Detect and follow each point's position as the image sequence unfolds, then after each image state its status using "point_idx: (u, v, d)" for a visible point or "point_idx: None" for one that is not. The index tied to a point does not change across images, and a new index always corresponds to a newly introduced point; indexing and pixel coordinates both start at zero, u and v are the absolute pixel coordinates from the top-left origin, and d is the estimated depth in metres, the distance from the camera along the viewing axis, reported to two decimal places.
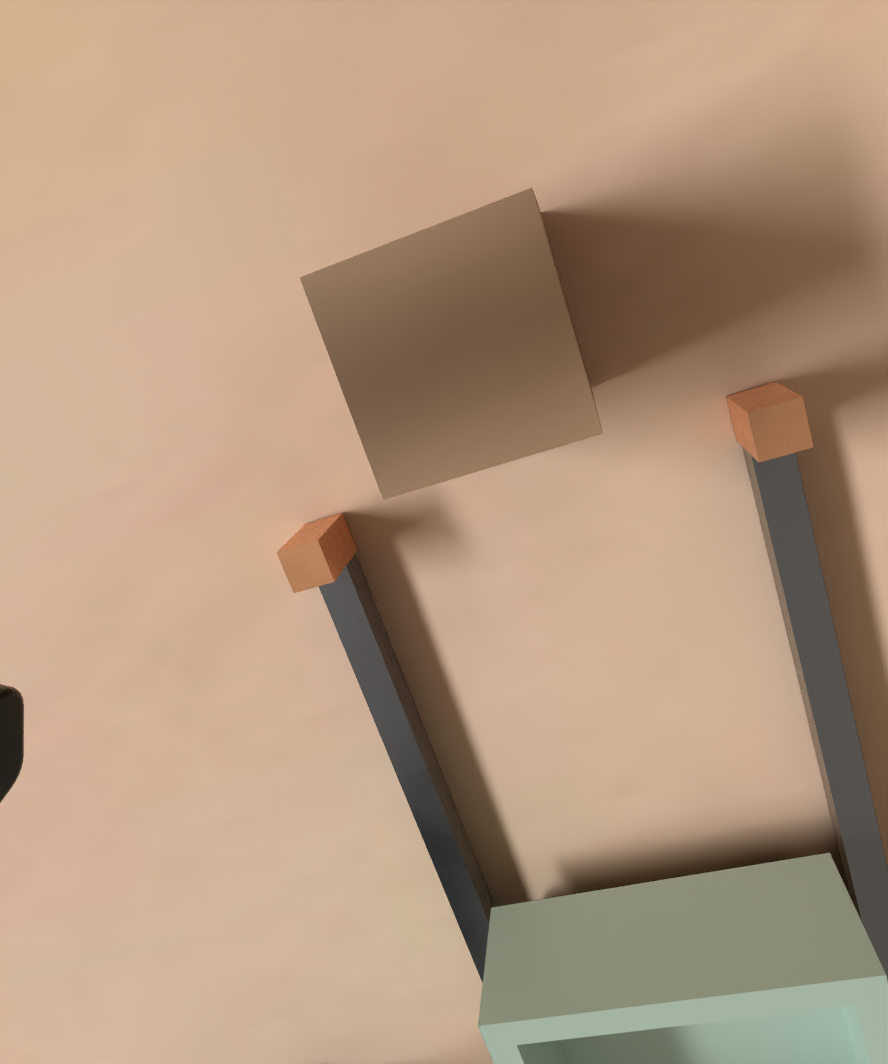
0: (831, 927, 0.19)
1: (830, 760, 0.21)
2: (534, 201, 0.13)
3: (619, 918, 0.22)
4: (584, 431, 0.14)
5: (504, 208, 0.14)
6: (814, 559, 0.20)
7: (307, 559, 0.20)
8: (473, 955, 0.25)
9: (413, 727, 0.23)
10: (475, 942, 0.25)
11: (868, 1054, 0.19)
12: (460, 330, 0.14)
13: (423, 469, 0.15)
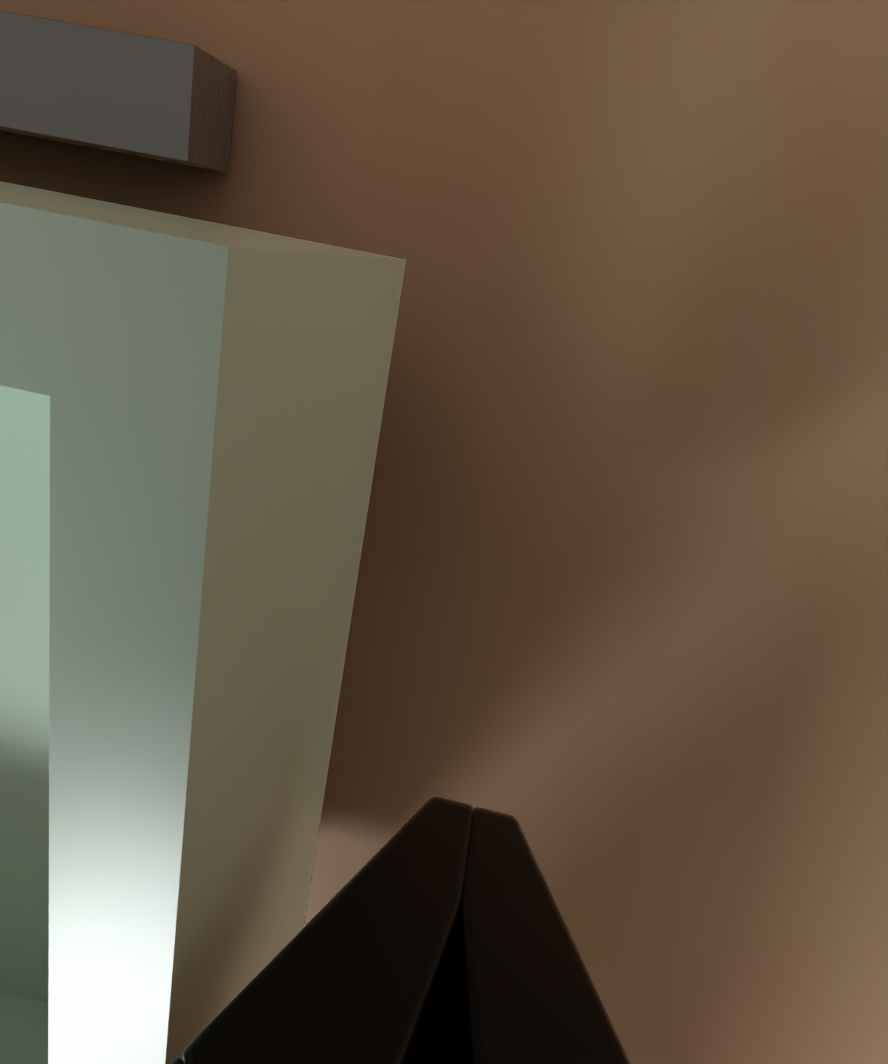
0: None
1: None
2: None
3: None
4: None
5: None
6: None
7: None
8: None
9: None
10: None
11: None
12: None
13: None
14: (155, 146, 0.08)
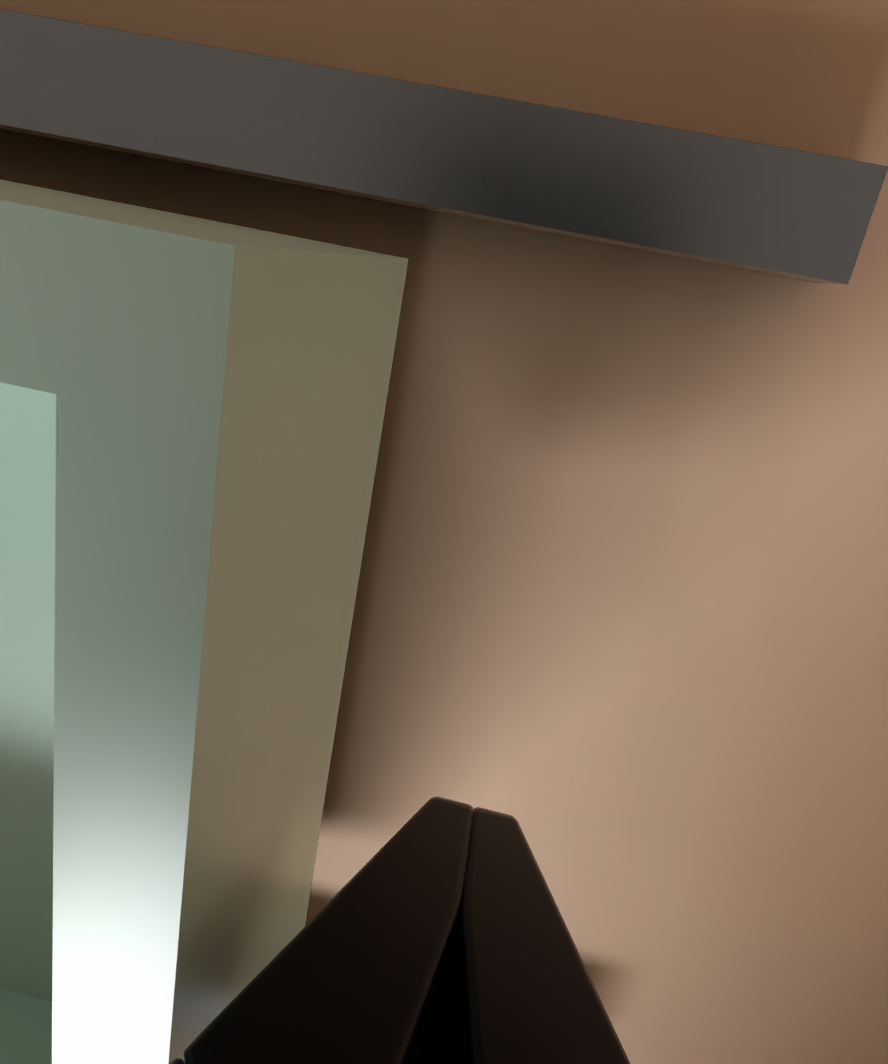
0: None
1: None
2: None
3: None
4: None
5: None
6: None
7: None
8: None
9: None
10: None
11: None
12: None
13: None
14: (811, 268, 0.07)
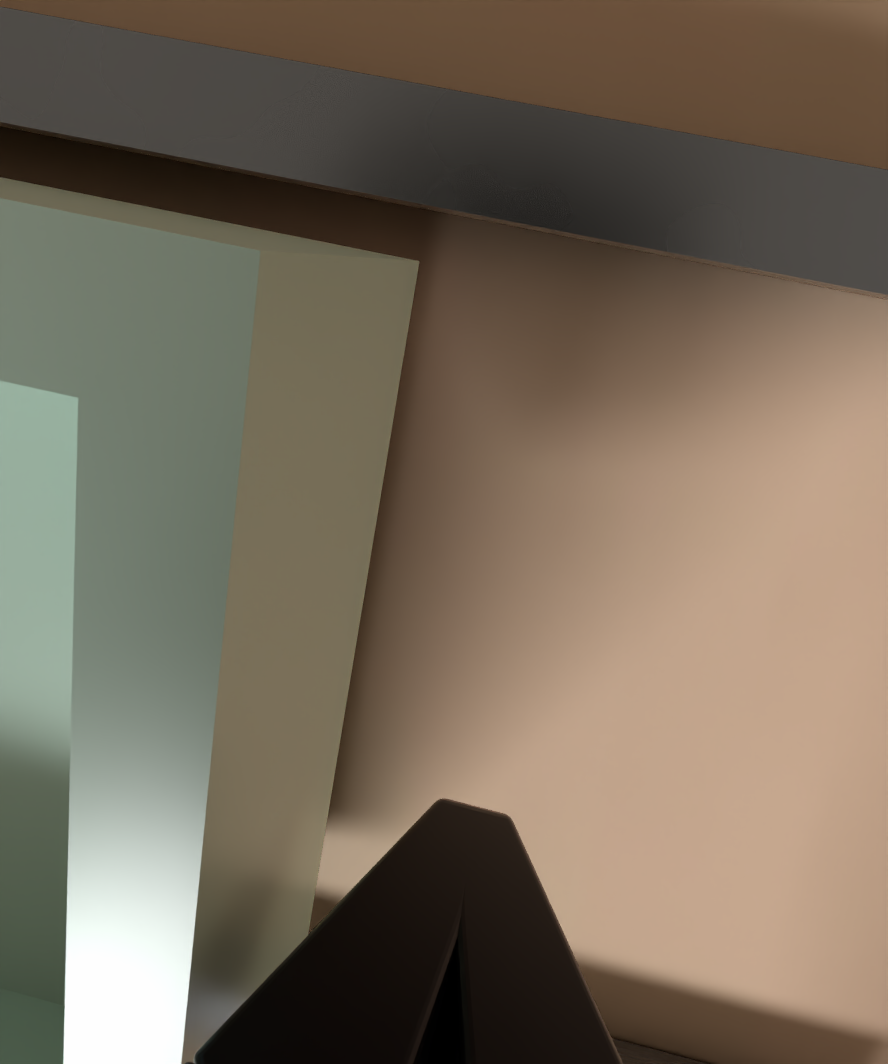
0: None
1: (295, 159, 0.07)
2: None
3: None
4: None
5: None
6: None
7: None
8: None
9: None
10: None
11: None
12: None
13: None
14: None
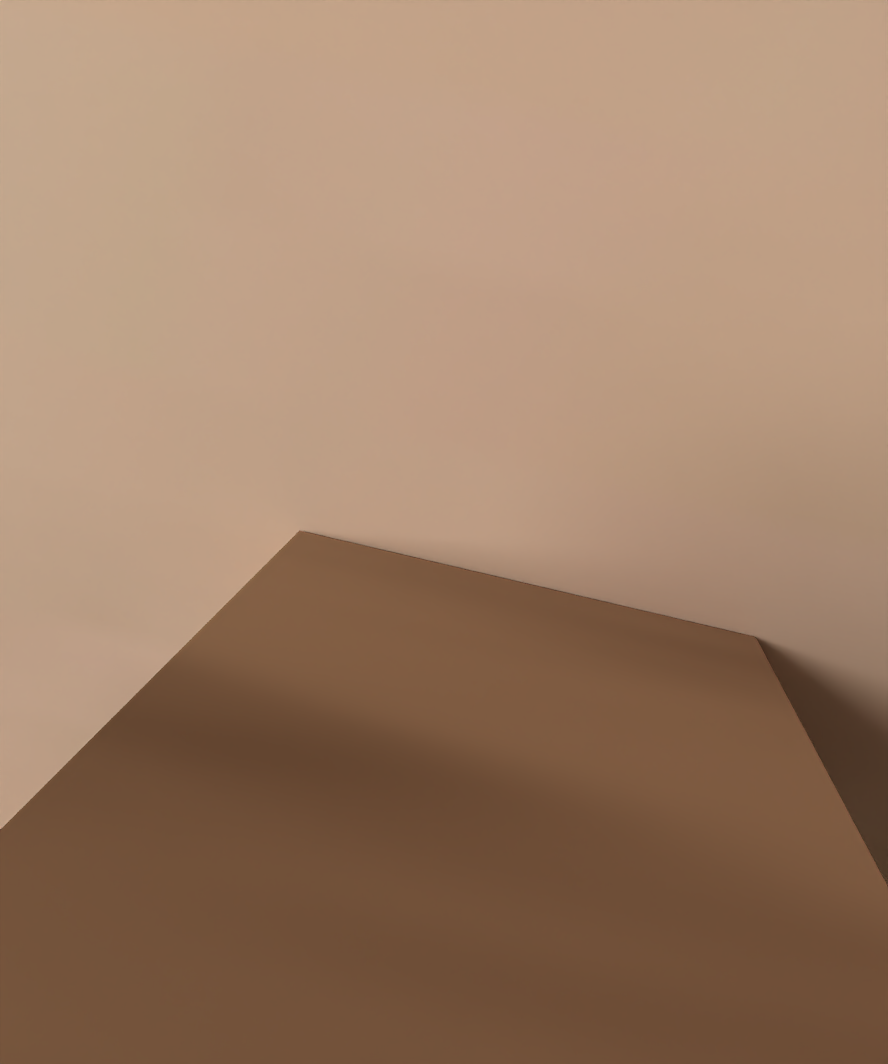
0: None
1: None
2: None
3: None
4: None
5: None
6: None
7: None
8: None
9: None
10: None
11: None
12: None
13: None
14: None
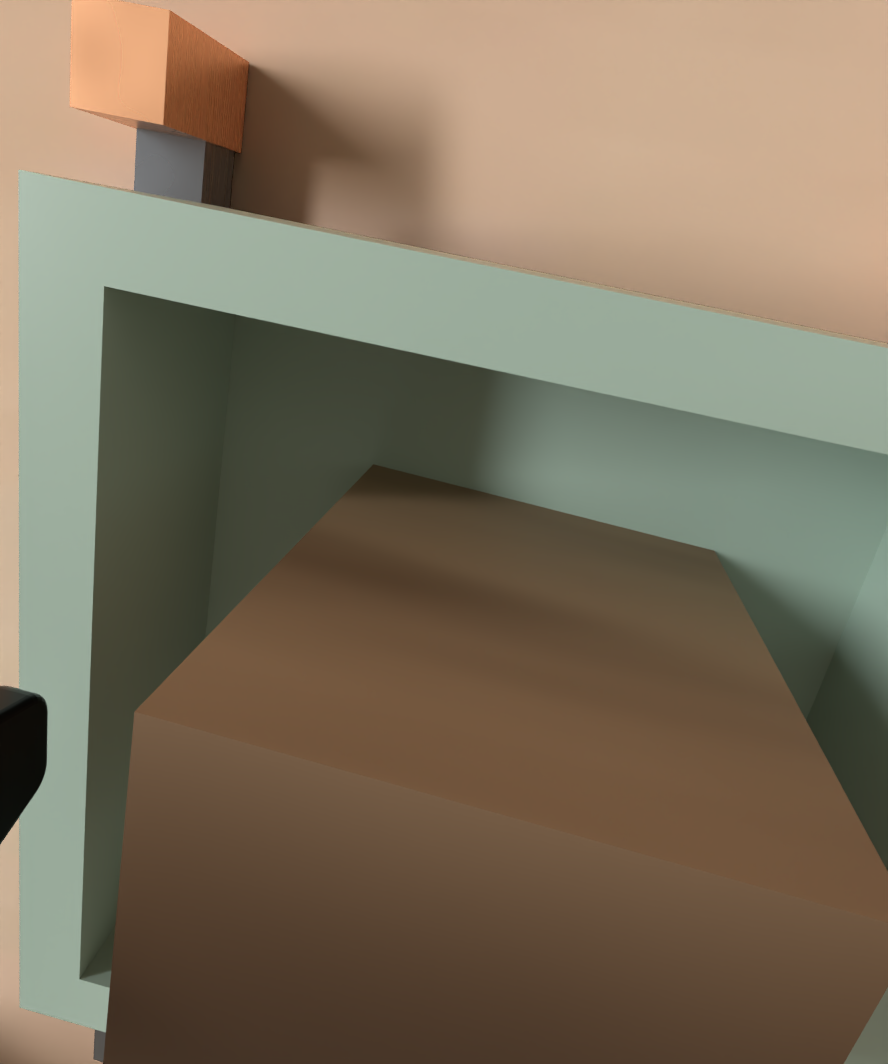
0: None
1: None
2: None
3: (499, 265, 0.09)
4: None
5: (806, 921, 0.04)
6: None
7: (129, 44, 0.09)
8: None
9: None
10: None
11: None
12: (489, 1060, 0.05)
13: None
14: None
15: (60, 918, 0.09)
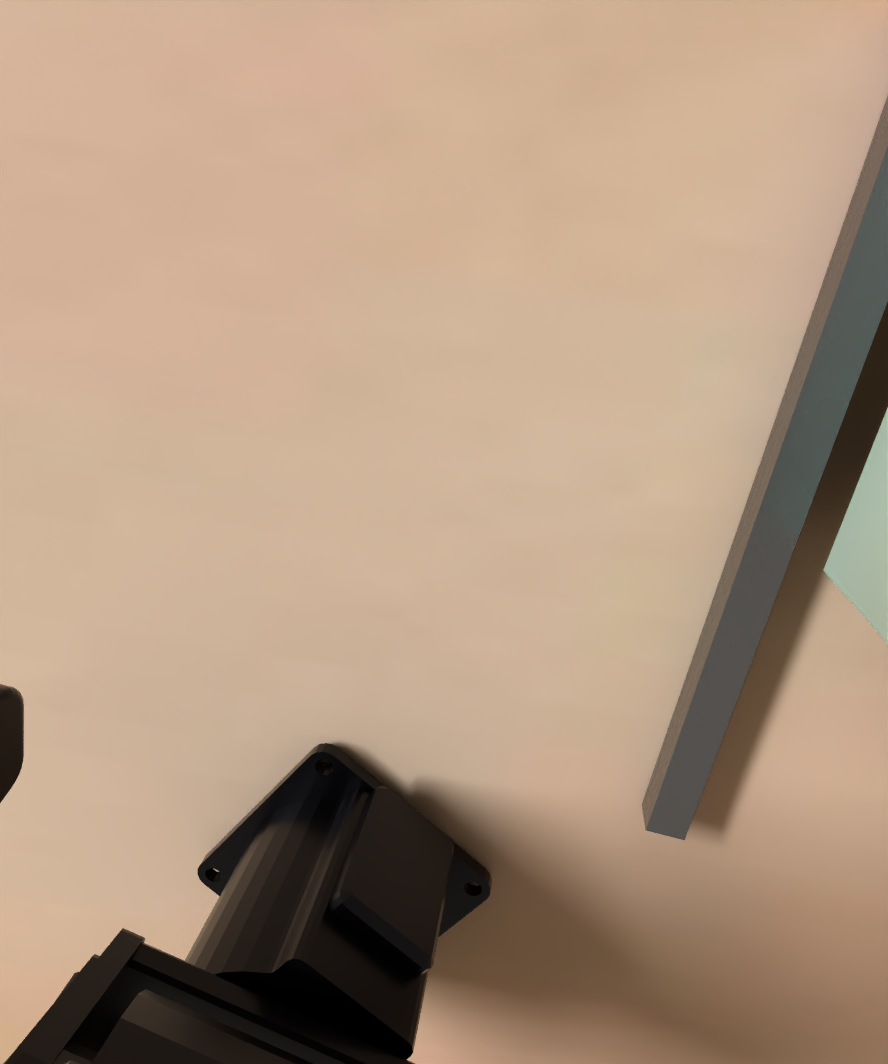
0: None
1: None
2: None
3: None
4: None
5: None
6: None
7: None
8: (702, 676, 0.18)
9: (880, 314, 0.15)
10: (720, 659, 0.18)
11: None
12: None
13: None
14: None
15: None
